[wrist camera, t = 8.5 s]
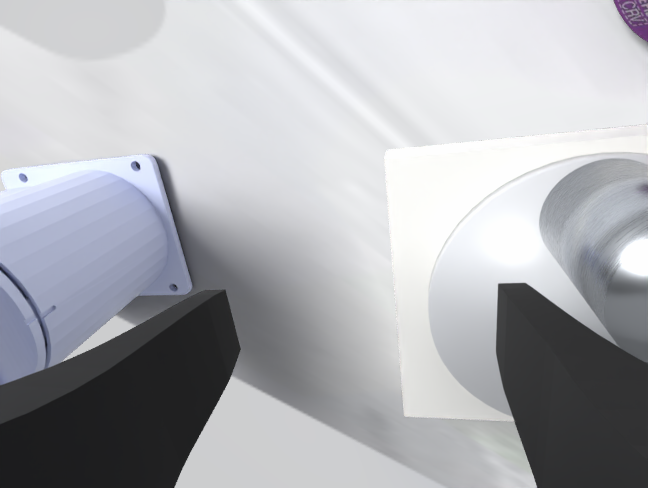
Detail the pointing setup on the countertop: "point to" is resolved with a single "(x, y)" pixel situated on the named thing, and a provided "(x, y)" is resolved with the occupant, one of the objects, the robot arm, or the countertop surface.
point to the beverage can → (635, 15)
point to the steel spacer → (604, 244)
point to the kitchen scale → (478, 256)
